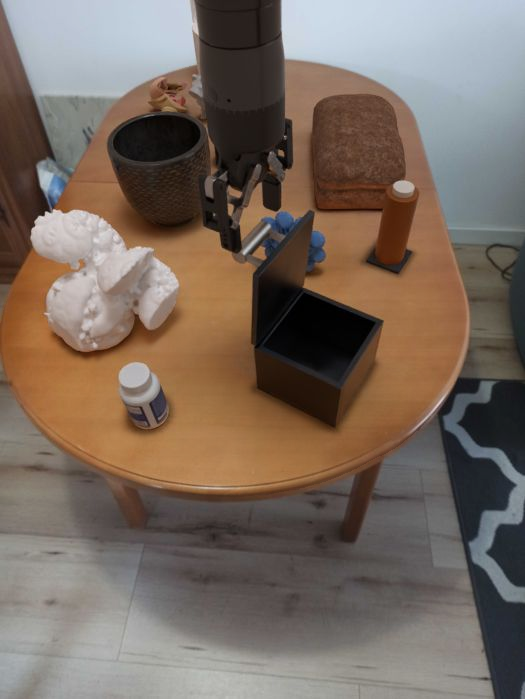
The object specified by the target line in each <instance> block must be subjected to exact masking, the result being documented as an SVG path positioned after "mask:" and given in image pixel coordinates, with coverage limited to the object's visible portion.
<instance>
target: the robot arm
mask: <svg viewBox="0 0 525 699" xmlns="http://www.w3.org/2000/svg"><path fill="white" fill-rule="evenodd" d="M194 3H195V11H196V19H197V27H198V35H199V65H200V74H201V82H202V89H203V97H204V105H205V112H206V118H205V119H206V120H205V121H206V126H207V127H206V129H207V134H208V139H209V140H210V141H211V142H210V143H212V144H213V147H214V146H215V147H216V149H217V151H218V152H219V162H218V166H217V170H215V172H213V173H211V176H210V175H207V174H204V173H202V174H201V175H200V177H199V179H198V185H199V193H200V202H201V210H200V211H201V217H202V219H201V220H202V226H203V227H204V228H206V229H208V230H211V231H213V232H216V233H219V241H220V246H221V248H222V249H224V250H225V251H228V252H229V253H230V252H231V253H232V252H233V253H235V254H238V253H239V252H240V251H241V250H242V242H241V241H242V234H241V232H242V231H241V224H240V221H241V218H242V215H243V211H244V209H247V208H248V207H249V205H250V203H251V199H252V195H253V191H255V189H256V187H258V185H259V184H260V183H261V194H262V206H263V207H264V208H265V209H266V210H270V211H273V212H274V213H278V212H279V211H280V210H281V208H282V183H283V182H284V181H285V178H286V170H291V169H292V168H293V165H294V141H293V140H294V138H293V137H294V134H293V132H294V131H293V120H292V119H290V118H287V117H286V58H285V57H286V56H285V49H284V40H283V13H282V12H283V4H282V3H283V0H194ZM279 151H282V152H283V155H281V154H279ZM229 187H230V188H231V189H233V190H235V191H237V192H240V193H241V195H240V196H238V197H237V196H235V195H231V194H230V190H229ZM229 204H230V205H232V206H233V208H232V212H231V214H229Z"/></svg>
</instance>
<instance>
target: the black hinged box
mask: <svg viewBox="0 0 525 699" xmlns="http://www.w3.org/2000/svg"><path fill="white" fill-rule="evenodd" d="M384 323H385V320H384V319H381V318H379V317H376V316H373V315H371V314H369V313H366V312H364V311H361V310H359V309H357V308H354V307H353V306H350V305H347V304H344V303H342V302H340V301H338V300H335V299H332V298H331V297H327V296H325V295H323V294H321V293H318V292H316V291H313V290H311V289H308V288H307V287H304V286H303V287H302V288H301V290H300V291H299V292H298V293H297V295H296V296H295V297H294V299H293V300H292V301H291V302H290V304H289V305H288V306H287V307H286V309H285V310H284V311H283V313H282V314H281V315H280V316H279V318H278V319H277V320H276V321H275V323H274V324H273V325H272V327H271V328H270V329H269V330H268V332H267V333H266V334H265V335H264V337H263V338H262V339H261V341H260V342H259V343H258V344H257V346H254V345H253V346H254V347H253V356H254V367H255V378H256V388H257V389H258V390H259V391H261V392H263V393H265V394H267V395H269V396H271V397H273V398H275V399H277V400H278V401H281V402H283V403H285V404H287V405H289V406H290V407H292V408H294V409H296V410H298V411H301V412H303V413H304V414H306V415H308V416H311V417H312V418H314V419H317V420H318V421H320V422H322V423H324V424H326V425H328V426H330V427H332V428H334V429H336V428H337V426H338V424H339V422H340V421H341V419H342V417H343V416H344V414H345V413H346V412H347V409H348V407H349V406H350V405H351V403H352V401H353V399H354V398H355V396H356V394H357V392H358V391H359V389H360V387H361V386H362V384H363V383H364V381H365V379H366V378H367V376H368V375H369V372H370V371H371V370H372V368H373V366H374V364H375V362H376V361H375V360H376V356H377V352H378V348H379V344H380V340H381V335H382V331H383V327H384Z"/></svg>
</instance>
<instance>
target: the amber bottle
mask: <svg viewBox="0 0 525 699" xmlns="http://www.w3.org/2000/svg"><path fill="white" fill-rule="evenodd" d="M419 197H420V191H419V189H418V188H417V187H416V186H415V185H414V183H412V182H411V181H408V180H405V179H404V180H401V181H397V182H395V183H394V184H391V185H390V186H389V187H388V188H387V189H386V194H385V200H384V205H383V209H382V212H381V216H380V222H379V227H378V234H377V238H376V245H375V247H376V249H375V248H374V249H375V258H376V259H377V261H379V262H380V263H382V264H385V265H397V264H399V263H401V262H402V260H403V259H404V255H405V251H406V249H407V247H408V242H409V237H410V234H411V230H412V226H413V222H414V217H415V213H416V209H417V205H418V202H419Z"/></svg>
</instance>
